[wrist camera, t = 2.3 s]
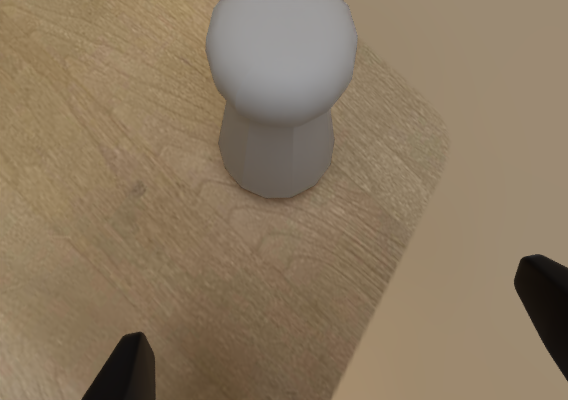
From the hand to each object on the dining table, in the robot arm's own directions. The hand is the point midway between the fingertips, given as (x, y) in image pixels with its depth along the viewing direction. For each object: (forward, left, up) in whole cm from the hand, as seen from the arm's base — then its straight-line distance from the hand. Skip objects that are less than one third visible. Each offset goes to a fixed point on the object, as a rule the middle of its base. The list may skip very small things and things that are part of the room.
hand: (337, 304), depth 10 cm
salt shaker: (+3, -6, -13) cm, 15 cm away
